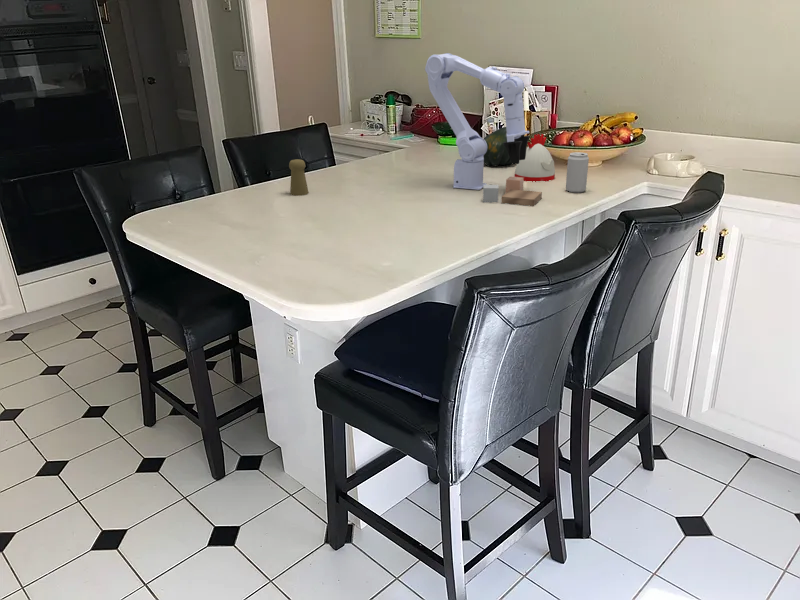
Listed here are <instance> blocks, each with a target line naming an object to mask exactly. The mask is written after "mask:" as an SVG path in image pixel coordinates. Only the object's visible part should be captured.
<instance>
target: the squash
mask: <svg viewBox="0 0 800 600" xmlns="http://www.w3.org/2000/svg"><path fill="white" fill-rule="evenodd" d="M506 134H507V129H506V126H503V127H500V128H497V129H496V130H494V131H493V132H491V133H489V134H487V135H486V136H484V138H483V139H484V140H485V141H486V143H487V151H486V153H485V154H484V165H486V166H489V167H492V166H494V167H498V165H502V166H503V165H504V166H510V165H513V164H512V163H511V160H510V157H509V154H508V151H507V149H506V148H505V146H504V144H503V142H507V136H506Z"/></svg>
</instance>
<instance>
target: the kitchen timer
mask: <svg viewBox="0 0 800 600" xmlns="http://www.w3.org/2000/svg"><path fill="white" fill-rule="evenodd" d="M546 141H547V137H546V136H545V135H544V134H543V133H541V134H539V133H537V134H534V136H533V137H531V138H530V142H529V141H528V144H527V149H526V157H525V160H519V164H516V166H515V169H514V177H523V178H524V181H523V182H527V181H532V183H537V182H536V181H545V182H550V181H549V180H551V181H553V180H555V179H556V178H555V177H556V169H555V161H554V159H553V156H552V154H551V153H550V151H549V150H548V148H546V147H545V144H546ZM533 181H535V182H533Z"/></svg>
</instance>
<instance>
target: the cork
mask: <svg viewBox="0 0 800 600" xmlns="http://www.w3.org/2000/svg"><path fill="white" fill-rule="evenodd" d="M288 168H289V169H290V170H291V171H290V188H289V190H290V191H289V195H290V196H293V197H294V196H295V197H297V196H299V197H300V196H306V195H308V194H309V193H310V192H309V187H308V182H307V179H306V174H305V168H306V162H305V161H304V160H303V159H298V158H297V159H291V160H290V161H289V164H288Z"/></svg>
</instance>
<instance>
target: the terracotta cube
mask: <svg viewBox="0 0 800 600" xmlns="http://www.w3.org/2000/svg"><path fill="white" fill-rule="evenodd" d="M524 182H525V181H524V178H523V177H515V176H509V177H508V178H506V179H505V193H507V192H508V191H509V190H510V189H513V190H524Z"/></svg>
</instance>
